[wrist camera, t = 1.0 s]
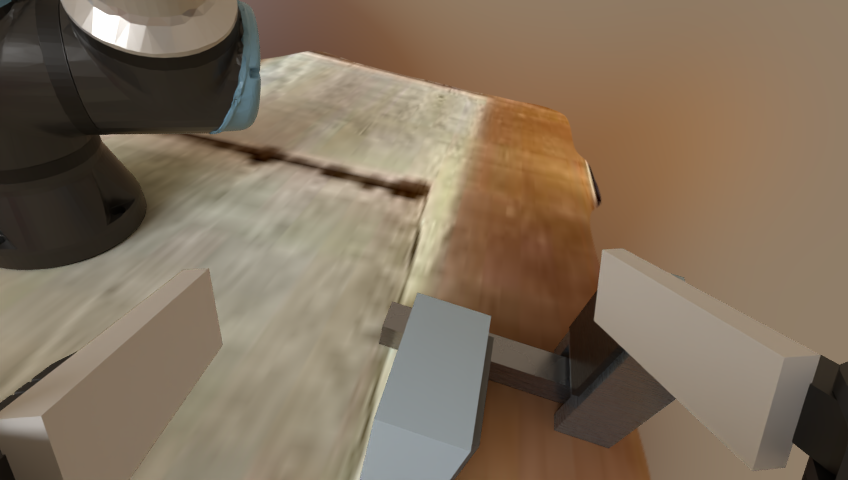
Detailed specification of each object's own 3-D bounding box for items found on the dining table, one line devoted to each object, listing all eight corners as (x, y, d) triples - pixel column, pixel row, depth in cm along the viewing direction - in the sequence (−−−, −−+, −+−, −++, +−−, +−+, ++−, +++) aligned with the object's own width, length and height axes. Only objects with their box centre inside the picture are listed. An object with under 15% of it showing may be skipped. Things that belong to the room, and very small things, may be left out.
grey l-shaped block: (369, 368, 37) (387, 266, 27) (396, 299, 43) (419, 196, 34) (609, 448, 36) (715, 370, 26) (600, 364, 42) (683, 277, 33)
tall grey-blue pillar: (428, 523, 29) (482, 455, 20) (355, 497, 29) (374, 418, 20) (450, 411, 35) (500, 318, 26) (390, 391, 36) (417, 292, 26)
